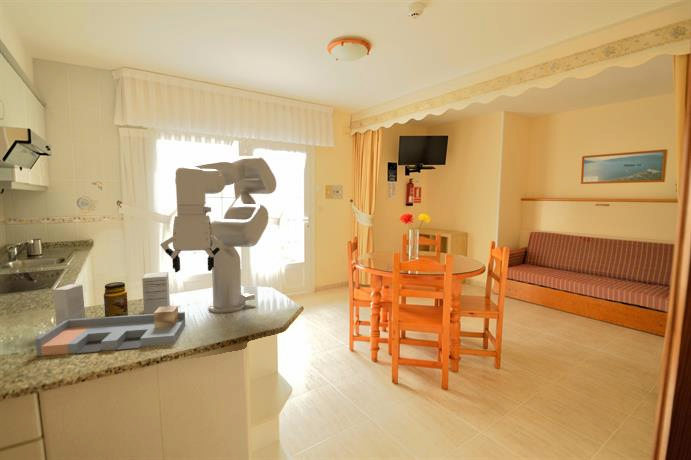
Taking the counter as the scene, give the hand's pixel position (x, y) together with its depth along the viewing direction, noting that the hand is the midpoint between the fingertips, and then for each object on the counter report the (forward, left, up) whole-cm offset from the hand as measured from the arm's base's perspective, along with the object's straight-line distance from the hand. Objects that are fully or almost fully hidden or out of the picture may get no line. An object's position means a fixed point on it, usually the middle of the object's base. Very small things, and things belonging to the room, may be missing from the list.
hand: (194, 270), depth 96 cm
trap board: (+19, -2, -18) cm, 26 cm away
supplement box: (+11, -24, -18) cm, 32 cm away
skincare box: (+34, -21, -18) cm, 44 cm away
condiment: (+23, -19, -18) cm, 35 cm away
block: (+8, -2, -16) cm, 18 cm away
